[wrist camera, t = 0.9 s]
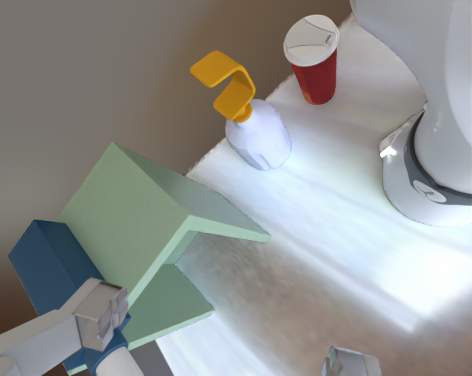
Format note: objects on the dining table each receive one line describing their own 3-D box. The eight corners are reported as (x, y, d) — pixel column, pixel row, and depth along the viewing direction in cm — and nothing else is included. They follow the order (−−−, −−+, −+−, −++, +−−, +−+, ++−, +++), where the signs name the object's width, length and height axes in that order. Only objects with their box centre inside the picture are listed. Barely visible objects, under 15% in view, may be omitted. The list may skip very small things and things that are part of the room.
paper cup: (349, 77, 49) (349, 14, 36) (330, 115, 48) (323, 65, 36) (308, 68, 52) (295, 8, 39) (290, 103, 52) (271, 54, 39)
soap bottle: (236, 153, 54) (158, 80, 32) (268, 117, 53) (210, 18, 31) (268, 181, 50) (204, 120, 28) (302, 143, 49) (264, 50, 27)
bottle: (187, 396, 20) (160, 421, 17) (152, 442, 20) (118, 474, 17) (65, 222, 29) (33, 219, 26) (41, 255, 29) (7, 255, 26)
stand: (271, 236, 47) (189, 214, 23) (210, 316, 48) (68, 376, 24) (220, 193, 53) (111, 140, 29) (166, 266, 54) (16, 274, 30)
